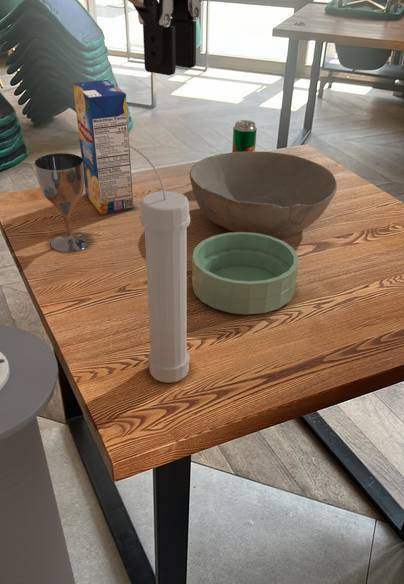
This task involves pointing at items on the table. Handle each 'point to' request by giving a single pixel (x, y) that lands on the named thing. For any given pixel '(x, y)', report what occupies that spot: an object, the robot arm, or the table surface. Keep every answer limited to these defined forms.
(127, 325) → the table surface
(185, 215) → the pipe
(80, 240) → the wine glass
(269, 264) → the green round dish
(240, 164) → the bowl
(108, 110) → the cereal box
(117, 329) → the table surface
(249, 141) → the soda can
